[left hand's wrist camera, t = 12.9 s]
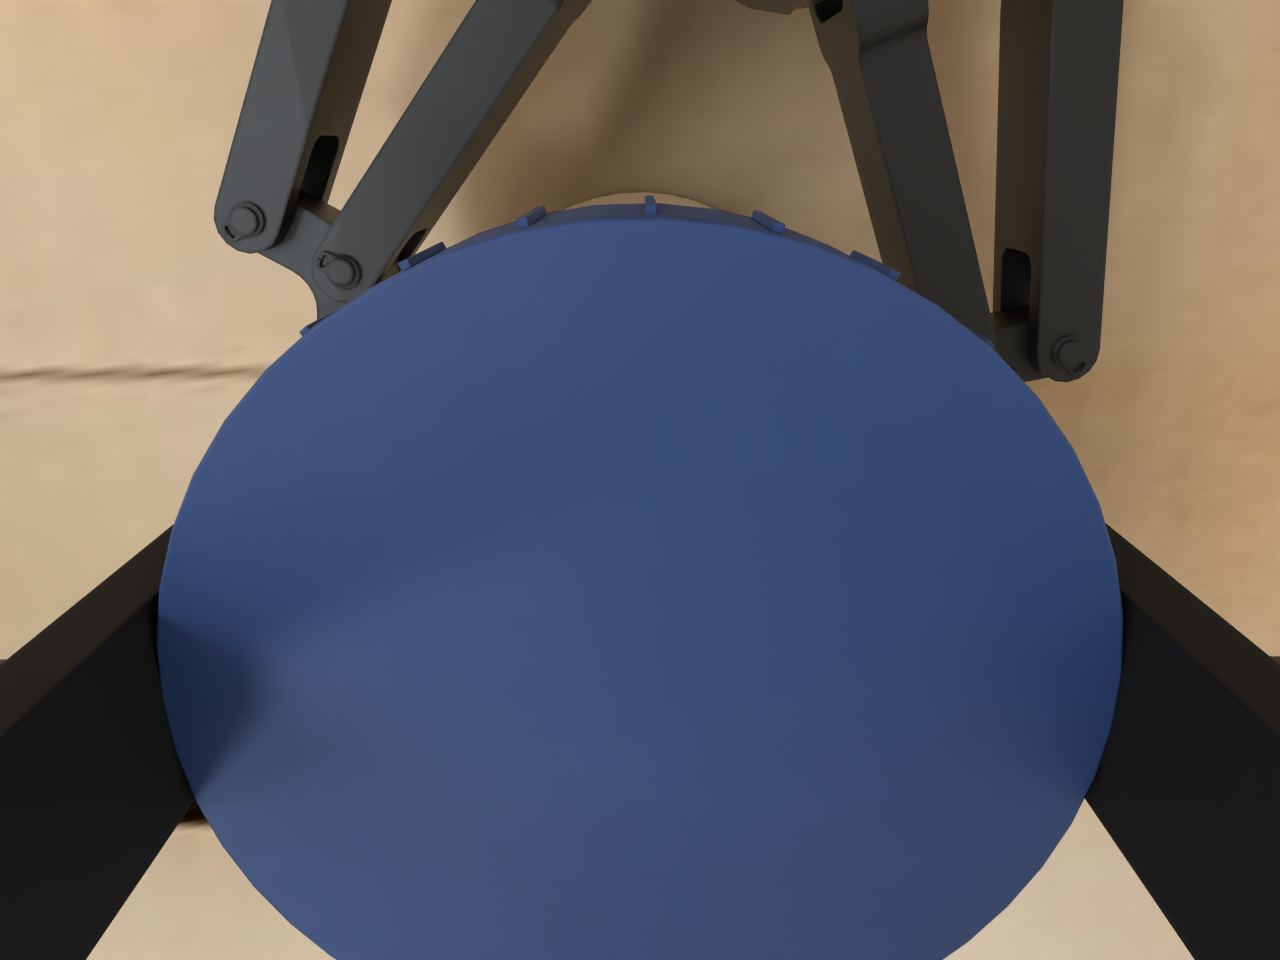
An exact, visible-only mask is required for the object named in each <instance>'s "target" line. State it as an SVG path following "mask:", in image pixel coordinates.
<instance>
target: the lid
mask: <svg viewBox="0 0 1280 960" xmlns="http://www.w3.org/2000/svg"><path fill="white" fill-rule="evenodd" d="M784 227H785V225H784V224H783V223H781V222H779V221H777V220H775V219H773V218H771V217H770V216H768V215H766V214H764V213H762V212H759V211H755V210H754V211H753V214H752V218H750V217H746V216H742V215H738V214H734V213H730V212H726V211H722V210H718V209H710V208H701V207H691V206H681V205H672V204H662V203H656V201H655V198H654V196H645V203H635V204H605V205H591V206H585V207H580V208H574V209H568V210H562V211H556V212H550V213H546V210H545V207H544V206H541V207H537V208H535V209H533V210H532V211H530V212H528V213H526V214H525V215H523V216H521V217H520V218H518V219H517V221H515V222H512V223H509V224H506V225H503V226H500V227H496V228H493V229H490V230H487V231H484V232H481V233H478V234H476V235H474V236H472V237H470V238H468V239H466V240H464V241H461V242H459V243H457V244H455V245H453V246H451V247H449V248H447V249H446V247H445V245H444V243H443V242H440V243H438V244H436V245H434V246H432V247H430V248H428V249H426V250H424V251H422V252H420V253H418V254H416V255H413V256H411V257H409V258H407V259H405V260H403V261H401V262H399V263H398V265H399V267H400V269H401V270H402V271H401V272H399V273H397V274H395V275H394V276H392V277H390V278H388V279H386V280H384V281H382V282H380V283H378V284H376V285H375V286H373V287H371V288H370V289H368V290H367V291H365V292H364V293H362V294H361V295H359V296H358V297H356V298H355V299H353V300H352V301H350V302H349V303H347V304H346V305H344V306H343V307H341V308H339V309H337V310H335V311H333V312H331V313H330V314H328V315H326V316H324V317H322V318H320V319H318V320H317V321H315V322H313V323H311V324H309V325H307V326H306V327H304V328H303V329H302V330H301V331H300V334H301V335H302V336H303V337H302V338H300V339H299V340H298V341H297V342H296V343H295V344H294V345H293V346H292V347H291V348H289V349H288V350H287V351H286V352H285V353H284V354H283V355H282V356H281V357H280V358H278V359H277V360H276V361H275V362H274V363H273V364H272V365H271V366H270V367H269V368H267V369H266V370H265V371H264V373H263V374H262V375H261V376H260V378H259V379H258V380H257V381H256V382H255V384H254V385H253V386H252V387H251V389H250V390H249V391H248V392H247V394H246V395H245V396H244V397H243V399H242V400H241V401H240V402H239V403H238V405H237V406H236V407H235V408H234V410H233V411H232V412H231V413H230V415H229V416H228V417H227V418H226V420H225V421H224V422H223V424H222V426H221V428H220V429H219V431H218V433H217V434H216V436H215V438H214V440H213V441H212V443H211V445H210V447H209V448H208V450H207V452H206V453H205V455H204V457H203V459H202V460H201V462H200V464H199V465H198V467H197V469H196V471H195V472H194V474H193V476H192V479H191V482H190V484H189V487H188V489H187V492H186V495H185V497H184V500H183V502H182V505H181V507H180V510H179V513H178V515H177V518H176V520H175V523H174V526H173V528H172V531H171V536H170V541H169V545H168V550H167V555H166V559H165V564H164V569H163V573H162V578H161V583H160V588H159V605H158V623H157V642H156V645H157V655H158V665H159V675H160V685H161V691H162V697H163V701H164V706H165V710H166V715H167V719H168V723H169V728H170V732H171V737H172V740H173V744H174V748H175V752H176V754H177V757H178V759H179V761H180V764H181V766H182V769H183V771H184V773H185V776H186V778H187V781H188V783H189V786H190V788H191V790H192V793H193V795H194V798H195V800H196V802H197V803H198V805H199V807H200V809H201V810H202V812H203V814H204V815H205V817H206V819H207V820H208V822H209V824H210V826H211V827H212V829H213V831H214V832H215V834H216V836H217V838H218V839H219V841H220V843H221V844H222V846H223V847H224V849H225V850H226V851H227V852H228V854H229V855H230V856H231V858H232V859H233V860H234V862H235V863H236V864H237V865H238V867H239V868H240V869H241V871H242V872H243V873H244V874H245V876H246V877H247V878H248V880H249V881H250V882H251V884H252V885H253V886H254V887H255V888H256V889H257V890H258V891H259V892H260V893H261V894H262V895H263V896H264V897H265V898H266V899H267V900H268V901H269V902H270V903H271V904H272V905H273V906H274V907H275V909H276V910H277V911H278V912H279V913H280V914H281V915H282V916H283V917H284V918H285V919H286V920H287V921H288V922H289V923H290V924H291V925H293V926H294V927H295V928H296V929H298V930H299V931H300V932H301V933H303V934H304V935H305V936H306V937H308V938H309V939H310V940H311V941H313V942H314V943H315V944H316V945H318V946H319V947H320V948H321V949H323V950H324V951H325V952H326V953H328V954H329V955H330V956H331V957H333V958H335V959H336V960H943V959H944V958H946V957H947V956H949V955H950V954H952V953H953V952H954V951H956V950H957V949H959V948H960V947H961V946H963V945H964V944H966V943H967V942H968V941H970V940H971V939H972V938H973V937H974V936H975V935H976V934H977V933H978V932H980V931H981V930H982V929H983V928H984V927H985V926H986V925H987V924H989V923H990V922H991V921H992V920H993V919H994V918H995V917H996V916H997V915H999V914H1000V913H1001V912H1002V911H1003V910H1004V909H1005V908H1006V907H1008V905H1009V904H1010V903H1011V902H1012V901H1013V900H1014V899H1015V897H1016V896H1017V895H1018V894H1019V893H1020V892H1021V891H1022V889H1023V888H1024V887H1025V886H1026V885H1027V884H1028V883H1029V882H1030V880H1031V879H1032V878H1033V877H1034V876H1035V875H1036V874H1037V872H1038V871H1039V870H1040V869H1041V868H1042V867H1043V865H1044V864H1045V862H1046V861H1047V859H1048V858H1049V856H1050V855H1051V853H1052V852H1053V850H1054V849H1055V847H1056V846H1057V845H1058V843H1059V842H1060V840H1061V839H1062V837H1063V836H1064V834H1065V833H1066V831H1067V830H1068V828H1069V827H1070V825H1071V824H1072V822H1073V820H1074V818H1075V816H1076V814H1077V812H1078V810H1079V808H1080V806H1081V804H1082V802H1083V800H1084V798H1085V796H1086V794H1087V792H1088V790H1089V788H1090V786H1091V784H1092V782H1093V780H1094V778H1095V776H1096V773H1097V770H1098V767H1099V764H1100V761H1101V758H1102V755H1103V752H1104V749H1105V746H1106V743H1107V740H1108V737H1109V734H1110V730H1111V726H1112V721H1113V716H1114V712H1115V707H1116V702H1117V697H1118V691H1119V686H1120V680H1121V675H1122V649H1123V611H1122V603H1121V595H1120V588H1119V580H1118V572H1117V564H1116V558H1115V555H1114V552H1113V548H1112V545H1111V541H1110V538H1109V535H1108V531H1107V528H1106V524H1105V521H1104V518H1103V514H1102V511H1101V507H1100V504H1099V502H1098V500H1097V497H1096V495H1095V493H1094V491H1093V489H1092V487H1091V485H1090V483H1089V481H1088V479H1087V476H1086V474H1085V472H1084V470H1083V468H1082V466H1081V464H1080V462H1079V460H1078V457H1077V455H1076V453H1075V451H1074V449H1073V447H1072V446H1071V445H1070V443H1069V442H1068V440H1067V439H1066V437H1065V436H1064V434H1063V433H1062V431H1061V430H1060V428H1059V427H1058V426H1057V424H1056V423H1055V421H1054V420H1053V418H1052V417H1051V415H1050V414H1049V412H1048V411H1047V409H1046V408H1045V407H1044V405H1043V404H1042V402H1041V401H1040V399H1039V398H1038V396H1037V395H1036V394H1035V393H1034V392H1033V391H1032V390H1031V389H1030V388H1029V387H1028V386H1027V385H1026V384H1025V382H1024V381H1023V380H1022V379H1021V378H1020V377H1019V376H1018V375H1017V374H1016V373H1015V372H1014V371H1013V370H1012V369H1011V368H1010V366H1009V365H1008V364H1007V363H1006V362H1005V361H1004V360H1003V359H1002V358H1001V357H1000V356H999V355H998V354H997V353H996V352H995V350H994V349H993V348H994V347H995V345H994V344H993V343H992V342H991V341H990V340H989V339H987V338H985V337H983V336H981V335H980V334H978V333H976V332H974V331H972V330H970V329H969V328H967V327H965V326H964V325H962V324H961V323H960V322H958V321H957V320H956V319H955V318H953V317H952V316H951V315H950V314H948V313H947V312H946V311H945V310H943V309H942V308H941V307H939V306H938V305H936V304H935V303H933V302H931V301H929V300H928V299H926V298H924V297H922V296H921V295H919V294H917V293H915V292H914V291H912V290H910V289H908V288H907V287H905V286H903V285H902V284H900V283H898V282H896V281H897V279H898V278H899V276H900V273H899V272H897V271H896V270H894V269H892V268H890V267H888V266H886V265H884V264H882V263H880V262H878V261H876V260H873V259H871V258H869V257H867V256H865V255H863V254H861V253H859V252H857V251H855V250H853V251H852V253H851V255H850V256H849V255H847V254H845V253H843V252H841V251H839V250H837V249H835V248H833V247H831V246H829V245H827V244H824V243H822V242H819V241H817V240H814V239H812V238H809V237H807V236H804V235H802V234H799V233H797V232H794V231H792V230H789V229H787V228H784Z"/></svg>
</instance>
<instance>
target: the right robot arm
mask: <svg viewBox="0 0 1280 960" xmlns="http://www.w3.org/2000/svg"><path fill="white" fill-rule="evenodd" d="M735 1H737V2H739V3H741V4H743V5H745V6H747V7H749V8H752V9H758V10H763V11H769V12H775V13H780V14H786V15H789V14H790V13H792V12H793V11H794V10H795V9H801V8H806V7H809V9H810V13H811V17H812V20H813V24H814V28H815V32H816V35H817V39H818V43H819V46H820V49H821V52H822V55H823V57H824V59H825V61H826V63H827V64H828V66H829V67H830V70H831V72H832V75H833V79H834V83H835V86H836V90H837V94H838V98H839V101H840V105H841V109H842V113H843V116H844V120H845V124H846V128H847V131H848V135H849V139H850V143H851V146H852V150H853V154H854V158H855V161H856V165H857V169H858V173H859V176H860V180H861V184H862V188H863V192H864V195H865V199H866V203H867V207H868V210H869V214H870V218H871V222H872V225H873V229H874V233H875V237H876V240H877V244H878V248H879V252H880V255H881V259H882V263H883V264H884V265H886V266H888V267H890V268H892V269H894V270H896V271H897V272H899V273H900V276H899V278H898V279H897V281H896V282H898V283H900V284H902V285H903V286H905V287H907V288H908V289H910V290H912V291H914V292H915V293H917V294H919V295H921V296H922V297H924V298H926V299H928V300H929V301H931V302H933V303H935V304H936V305H938V306H939V307H941V308H942V309H943V310H945V311H946V312H947V313H948V314H950V315H951V316H952V317H953V318H955V319H956V320H957V321H958V322H960V323H961V324H962V325H964V326H965V327H967V328H969V329H970V330H972V331H974V332H976V333H978V334H980V335H981V336H983V337H985V338H987V339H989V340H990V341H991V342H992V343H993V344H994V345H995V347H994V348H993V349H994V350H995V352H996V353H997V354H998V355H999V356H1000V357H1001V358H1002V359H1003V360H1004V361H1005V362H1006V363H1007V364H1008V365H1009V366H1010V368H1011V369H1012V370H1013V371H1014V372H1015V373H1016V374H1017V375H1018V376H1019V377H1020V378H1021V379H1022V380H1023V381H1024V382H1027V381H1032V380H1037V379H1043V378H1048V377H1049V378H1051V379H1052V380H1054V381H1060V382H1069V381H1072V380H1076V379H1079V378H1080V377H1082V376H1083V375H1084V374H1086V373H1087V372H1089V371H1090V369H1091V368H1092V366H1093V365H1094V364H1095V362H1096V361H1097V357H1098V353H1099V350H1100V337H1101V322H1102V307H1103V293H1104V278H1105V263H1106V249H1107V234H1108V219H1109V205H1110V190H1111V175H1112V160H1113V146H1114V131H1115V116H1116V102H1117V87H1118V72H1119V58H1120V43H1121V28H1122V14H1123V0H1001V11H1000V50H999V89H998V128H997V167H996V206H995V245H994V284H993V313H990V311H989V307H988V302H987V298H986V294H985V289H984V285H983V281H982V276H981V272H980V267H979V263H978V259H977V254H976V250H975V246H974V241H973V237H972V233H971V228H970V224H969V220H968V215H967V211H966V206H965V202H964V198H963V193H962V189H961V185H960V180H959V176H958V172H957V167H956V163H955V159H954V154H953V150H952V145H951V141H950V137H949V132H948V128H947V124H946V119H945V115H944V111H943V106H942V102H941V98H940V93H939V89H938V84H937V80H936V76H935V71H934V67H933V63H932V58H931V54H930V50H929V45H928V40H927V30H926V28H927V22H928V16H929V13H928V0H735ZM391 2H392V0H272V1H271V5H270V8H269V12H268V16H267V19H266V23H265V26H264V30H263V34H262V37H261V41H260V45H259V48H258V52H257V55H256V59H255V63H254V66H253V70H252V73H251V77H250V81H249V84H248V88H247V92H246V95H245V99H244V102H243V106H242V110H241V113H240V117H239V121H238V124H237V128H236V131H235V135H234V139H233V142H232V146H231V149H230V153H229V157H228V160H227V164H226V168H225V171H224V175H223V178H222V182H221V186H220V189H219V193H218V196H217V200H216V204H215V210H214V221H215V224H216V227H217V231H218V233H219V234H220V235H221V237H222V238H223V239H224V241H225V242H226V243H227V244H228V245H230V246H231V247H233V248H234V249H236V250H237V251H241V252H246V253H250V254H251V253H256V252H257V253H259V254H261V255H263V256H265V257H267V258H269V259H271V260H272V261H274V262H276V263H278V264H280V265H282V266H284V267H286V268H288V269H290V270H291V271H293V272H294V273H296V274H297V275H299V276H300V277H301V278H302V279H303V280H304V281H305V282H306V283H307V284H308V286H309V287H310V289H311V291H312V292H313V294H314V297H315V300H316V304H317V320H318V319H320V318H322V317H324V316H326V315H328V314H330V313H331V312H333V311H335V310H337V309H339V308H341V307H343V306H344V305H346V304H347V303H349V302H350V301H352V300H353V299H355V298H356V297H358V296H359V295H361V294H362V293H364V292H365V291H367V290H368V289H370V288H371V287H373V286H375V285H376V284H378V283H380V282H382V281H384V280H386V279H388V278H390V277H392V276H394V275H395V274H397V273H399V272H401V271H402V270H401V269H400V267H399V265H398V263H399V262H401V261H403V260H405V259H407V258H409V257H411V256H413V255H415V253H416V252H417V250H418V249H419V247H420V246H421V244H422V243H423V241H424V240H425V238H426V237H427V235H428V234H429V233H430V231H431V230H432V228H433V227H434V225H435V224H436V222H437V221H438V219H439V218H440V216H441V215H442V213H443V212H444V210H445V209H446V208H447V206H448V205H449V203H450V202H451V200H452V199H453V197H454V196H455V194H456V193H457V191H458V190H459V188H460V187H461V186H462V184H463V183H464V181H465V180H466V178H467V177H468V175H469V174H470V172H471V171H472V169H473V168H474V166H475V165H476V163H477V162H478V161H479V159H480V158H481V156H482V155H483V153H484V152H485V150H486V149H487V147H488V146H489V144H490V143H491V141H492V140H493V138H494V137H495V136H496V134H497V133H498V131H499V130H500V128H501V127H502V125H503V124H504V122H505V121H506V119H507V118H508V116H509V115H510V113H511V112H512V111H513V109H514V108H515V106H516V105H517V103H518V102H519V100H520V99H521V97H522V96H523V94H524V93H525V91H526V90H527V89H528V87H529V86H530V84H531V83H532V81H533V80H534V78H535V77H536V75H537V74H538V72H539V71H540V69H541V68H542V66H543V65H544V64H545V62H546V61H547V59H548V58H549V56H550V55H551V53H552V52H553V50H554V49H555V47H556V46H557V44H558V43H559V41H560V40H561V39H562V37H563V36H564V34H565V33H566V31H567V30H568V28H569V27H570V26H571V24H572V23H573V22H574V21H575V20H576V19H577V18H578V17H579V16H580V15H581V14H582V13H583V11H584V10H585V9H586V7H587V6H588V5H589V3H590V2H591V0H476V1H475V3H474V5H473V6H472V8H471V9H470V11H469V12H468V14H467V15H466V17H465V19H464V20H463V22H462V23H461V25H460V26H459V28H458V29H457V31H456V33H455V34H454V36H453V37H452V39H451V40H450V42H449V43H448V45H447V47H446V48H445V50H444V51H443V53H442V54H441V56H440V58H439V59H438V61H437V62H436V64H435V65H434V67H433V68H432V70H431V72H430V73H429V75H428V76H427V78H426V79H425V81H424V82H423V84H422V86H421V87H420V89H419V90H418V92H417V93H416V95H415V96H414V98H413V100H412V101H411V103H410V104H409V106H408V107H407V109H406V110H405V112H404V114H403V115H402V117H401V118H400V120H399V121H398V123H397V124H396V126H395V128H394V129H393V131H392V132H391V134H390V135H389V137H388V139H387V140H386V142H385V143H384V145H383V146H382V148H381V149H380V151H379V153H378V154H377V156H376V157H375V159H374V160H373V162H372V163H371V165H370V167H369V168H368V170H367V171H366V173H365V174H364V176H363V177H362V179H361V181H360V182H359V184H358V185H357V187H356V188H355V190H354V191H353V193H352V195H351V196H350V198H349V199H348V201H347V202H346V204H345V206H344V207H343V209H342V210H341V211H340V210H338V209H336V208H334V207H332V206H331V205H329V204H327V203H328V200H329V196H330V193H331V190H332V187H333V184H334V181H335V178H336V174H337V171H338V168H339V165H340V162H341V159H342V156H343V152H344V149H345V146H346V143H347V140H348V137H349V134H350V130H351V127H352V124H353V121H354V118H355V115H356V112H357V108H358V105H359V102H360V99H361V96H362V93H363V90H364V86H365V83H366V80H367V77H368V74H369V71H370V68H371V64H372V61H373V58H374V55H375V52H376V49H377V46H378V42H379V39H380V36H381V33H382V30H383V27H384V24H385V20H386V17H387V14H388V11H389V8H390V5H391Z"/></svg>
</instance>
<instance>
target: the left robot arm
mask: <svg viewBox="0 0 1280 960" xmlns="http://www.w3.org/2000/svg"><path fill="white" fill-rule="evenodd" d="M1105 524H1106V523H1105ZM173 526H174V524H173V525H172V526H171V527H170V528H169V529H167V530H166V531H165V532H164V533H162V534H161V535H160V536H159V537H157V538H156V539H155V540H154V541H153V542H151V543H150V544H149V545H148V546H146V547H145V548H144V549H143V550H141V551H140V552H139V553H138V554H137V555H135V556H134V557H133V558H132V559H130V560H129V561H128V562H127V563H125V564H124V565H123V566H122V567H120V568H119V569H118V570H117V571H116V572H114V573H113V574H112V575H111V576H109V577H108V578H107V579H106V580H104V581H103V582H102V583H101V584H100V585H98V586H97V587H96V588H95V589H93V590H92V591H91V592H90V593H88V594H87V595H86V596H85V597H84V598H82V599H81V600H80V601H79V602H77V603H76V604H75V605H74V606H72V607H71V608H70V609H69V610H68V611H66V612H65V613H64V614H63V615H61V616H60V617H59V618H58V619H56V620H55V621H54V622H53V623H51V624H50V625H49V626H48V627H47V628H45V629H44V630H43V631H42V632H40V633H39V634H38V635H37V636H35V637H34V638H33V639H32V640H31V641H29V642H28V643H27V644H26V645H24V646H23V647H22V648H21V649H19V650H18V651H17V652H16V653H15V654H13V655H12V656H11V657H10V658H8V659H7V660H0V960H86V959H87V957H88V956H89V954H90V953H91V951H92V950H93V948H94V947H95V945H96V944H97V943H98V941H99V940H100V938H101V937H102V935H103V934H104V932H105V931H106V929H107V928H108V926H109V925H110V923H111V922H112V920H113V919H114V918H115V916H116V915H117V913H118V912H119V910H120V909H121V907H122V906H123V904H124V903H125V901H126V900H127V898H128V897H129V896H130V894H131V893H132V891H133V890H134V888H135V887H136V885H137V884H138V882H139V881H140V879H141V878H142V876H143V875H144V873H145V872H146V871H147V869H148V868H149V866H150V865H151V863H152V862H153V860H154V859H155V857H156V856H157V854H158V853H159V851H160V850H161V849H162V847H163V846H164V844H165V843H166V841H167V840H168V838H169V837H170V835H171V834H172V832H173V831H174V829H175V828H176V826H177V825H178V824H179V822H180V821H181V819H182V818H183V816H184V815H185V813H186V812H187V810H188V809H189V807H190V806H191V804H192V803H193V802H194V800H195V798H194V795H193V793H192V790H191V788H190V786H189V783H188V781H187V778H186V776H185V773H184V771H183V769H182V766H181V764H180V761H179V759H178V757H177V754H176V752H175V748H174V744H173V740H172V737H171V732H170V728H169V723H168V719H167V715H166V710H165V706H164V701H163V697H162V691H161V685H160V675H159V665H158V655H157V645H156V642H157V623H158V605H159V588H160V583H161V578H162V573H163V569H164V564H165V559H166V555H167V550H168V545H169V541H170V536H171V531H172V528H173ZM1106 528H1107V531H1108V535H1109V538H1110V541H1111V545H1112V548H1113V552H1114V555H1115V558H1116V564H1117V572H1118V580H1119V588H1120V595H1121V603H1122V611H1123V649H1122V675H1121V680H1120V686H1119V691H1118V697H1117V702H1116V707H1115V712H1114V716H1113V721H1112V726H1111V730H1110V734H1109V737H1108V740H1107V743H1106V746H1105V749H1104V752H1103V755H1102V758H1101V761H1100V764H1099V767H1098V770H1097V773H1096V776H1095V778H1094V780H1093V782H1092V784H1091V786H1090V788H1089V790H1088V792H1087V794H1086V796H1085V799H1086V801H1087V802H1088V804H1089V805H1090V807H1091V808H1092V810H1093V811H1094V812H1095V814H1096V815H1097V817H1098V818H1099V820H1100V821H1101V823H1102V824H1103V826H1104V827H1105V829H1106V830H1107V832H1108V833H1109V834H1110V836H1111V837H1112V839H1113V840H1114V842H1115V843H1116V845H1117V846H1118V848H1119V849H1120V851H1121V852H1122V854H1123V855H1124V857H1125V858H1126V859H1127V861H1128V862H1129V864H1130V865H1131V867H1132V868H1133V870H1134V871H1135V873H1136V874H1137V876H1138V877H1139V879H1140V880H1141V881H1142V883H1143V884H1144V886H1145V887H1146V889H1147V890H1148V892H1149V893H1150V895H1151V896H1152V898H1153V899H1154V901H1155V902H1156V904H1157V905H1158V906H1159V908H1160V909H1161V911H1162V912H1163V914H1164V915H1165V917H1166V918H1167V920H1168V921H1169V923H1170V924H1171V926H1172V927H1173V928H1174V930H1175V931H1176V933H1177V934H1178V936H1179V937H1180V939H1181V940H1182V942H1183V943H1184V945H1185V946H1186V948H1187V949H1188V950H1189V952H1190V953H1191V955H1192V956H1193V958H1194V959H1195V960H1280V656H1269V655H1267V654H1266V653H1265V652H1264V651H1262V650H1261V649H1260V648H1259V647H1257V646H1256V645H1255V644H1254V643H1253V642H1251V641H1250V640H1249V639H1248V638H1246V637H1245V636H1244V635H1243V634H1241V633H1240V632H1239V631H1238V630H1237V629H1235V628H1234V627H1233V626H1232V625H1230V624H1229V623H1228V622H1227V621H1225V620H1224V619H1223V618H1222V617H1221V616H1219V615H1218V614H1217V613H1216V612H1214V611H1213V610H1212V609H1211V608H1209V607H1208V606H1207V605H1206V604H1204V603H1203V602H1202V601H1201V600H1200V599H1198V598H1197V597H1196V596H1195V595H1193V594H1192V593H1191V592H1190V591H1188V590H1187V589H1186V588H1185V587H1184V586H1182V585H1181V584H1180V583H1179V582H1177V581H1176V580H1175V579H1174V578H1172V577H1171V576H1170V575H1169V574H1168V573H1166V572H1165V571H1164V570H1163V569H1161V568H1160V567H1159V566H1158V565H1156V564H1155V563H1154V562H1153V561H1151V560H1150V559H1149V558H1148V557H1147V556H1145V555H1144V554H1143V553H1142V552H1140V551H1139V550H1138V549H1137V548H1135V547H1134V546H1133V545H1132V544H1131V543H1129V542H1128V541H1127V540H1126V539H1124V538H1123V537H1122V536H1121V535H1119V534H1118V533H1117V532H1116V531H1115V530H1113V529H1112V528H1111V527H1110V526H1108V525H1107V524H1106Z"/></svg>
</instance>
